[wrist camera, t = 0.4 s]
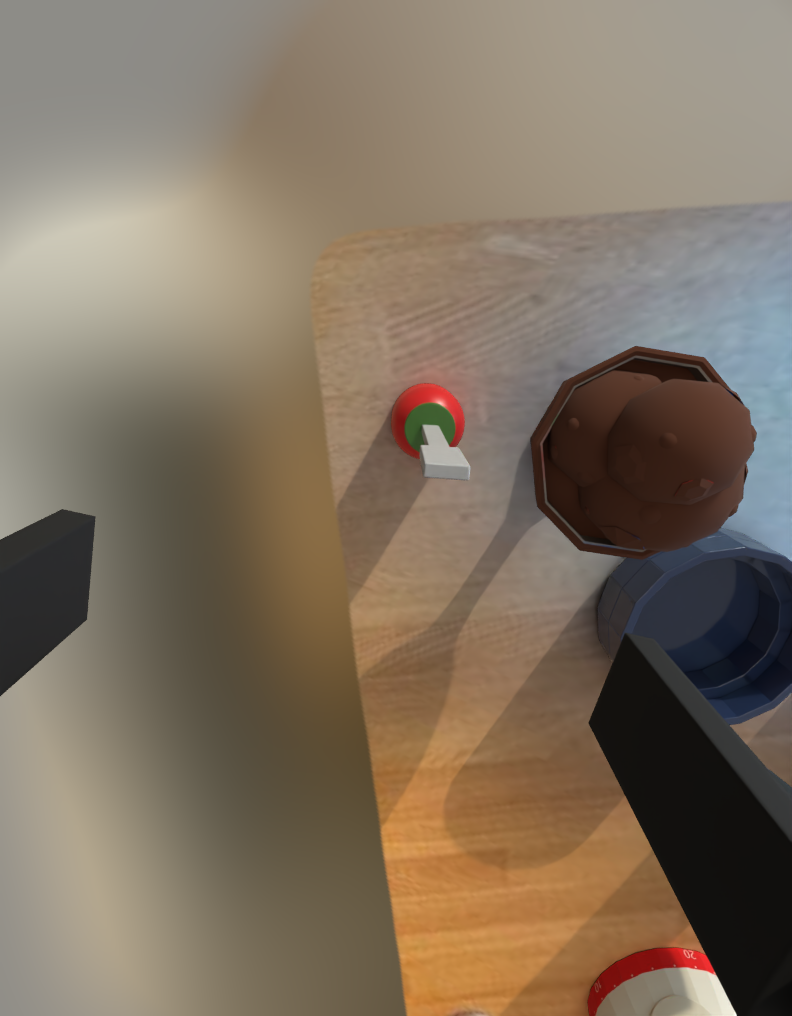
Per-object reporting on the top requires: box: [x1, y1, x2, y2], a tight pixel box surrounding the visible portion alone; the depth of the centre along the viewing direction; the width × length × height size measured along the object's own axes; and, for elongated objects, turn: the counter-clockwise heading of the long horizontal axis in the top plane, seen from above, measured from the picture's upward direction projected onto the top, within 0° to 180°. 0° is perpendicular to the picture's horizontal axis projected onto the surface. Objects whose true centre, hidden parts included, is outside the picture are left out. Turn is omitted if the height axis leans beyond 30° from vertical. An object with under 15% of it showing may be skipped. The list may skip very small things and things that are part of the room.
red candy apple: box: [391, 383, 470, 480], centre depth 29 cm, size 5×5×16 cm
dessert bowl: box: [598, 528, 792, 725], centre depth 38 cm, size 13×13×5 cm
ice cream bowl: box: [531, 346, 757, 560], centre depth 29 cm, size 11×11×15 cm
